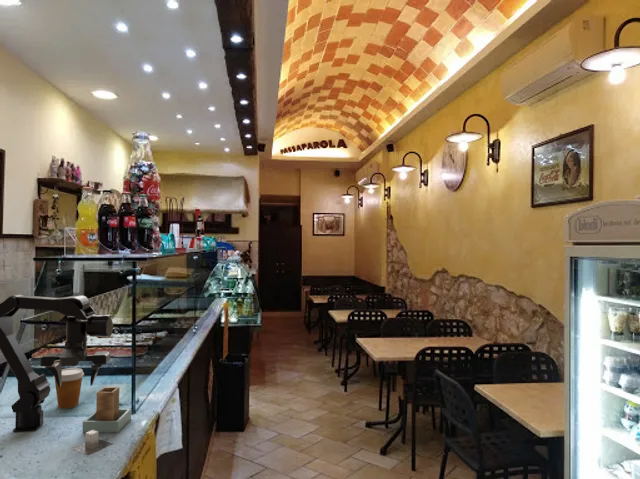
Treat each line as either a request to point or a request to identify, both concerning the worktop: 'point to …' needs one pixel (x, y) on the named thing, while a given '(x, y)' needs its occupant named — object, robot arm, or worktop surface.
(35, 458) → the worktop surface
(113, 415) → the sleeve
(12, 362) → the robot arm
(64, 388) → the disposable coffee cup
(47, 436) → the worktop surface
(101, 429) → the tray
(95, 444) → the stake base
